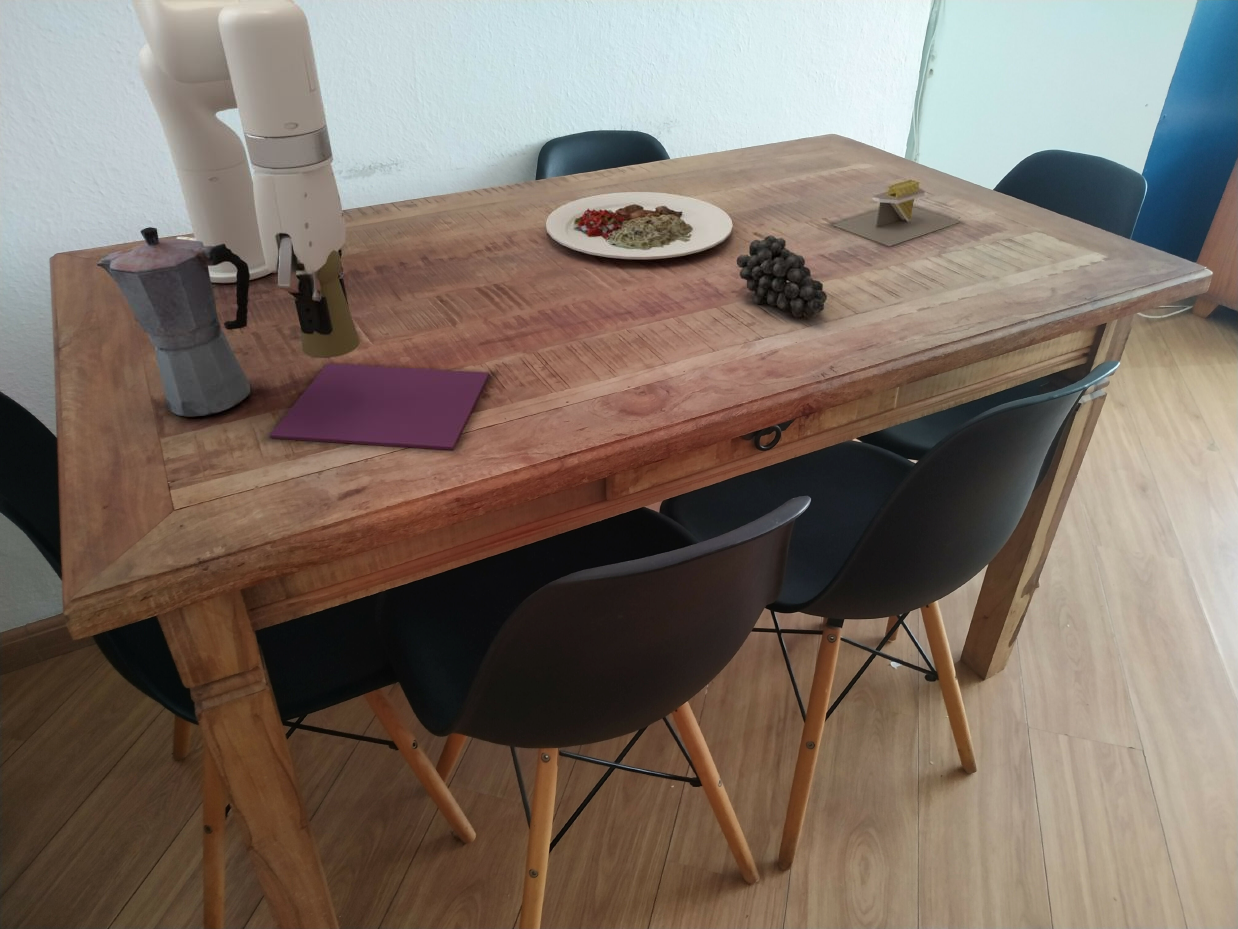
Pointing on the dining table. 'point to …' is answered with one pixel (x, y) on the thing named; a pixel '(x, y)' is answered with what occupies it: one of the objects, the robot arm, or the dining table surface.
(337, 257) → the pepper mill
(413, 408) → the placemat
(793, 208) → the dining table surface
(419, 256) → the dining table surface
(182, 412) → the moka pot
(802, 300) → the fruit
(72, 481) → the dining table surface
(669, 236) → the plated food
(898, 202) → the platform
